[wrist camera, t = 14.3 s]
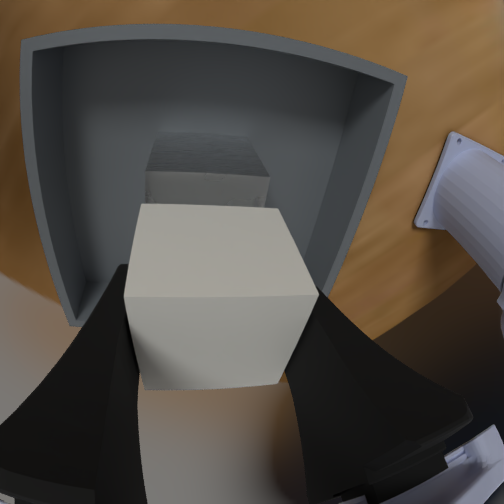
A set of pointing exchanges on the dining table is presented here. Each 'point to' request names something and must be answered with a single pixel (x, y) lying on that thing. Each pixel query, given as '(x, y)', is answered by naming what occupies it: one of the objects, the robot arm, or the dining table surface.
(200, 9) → the dining table surface
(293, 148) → the tote
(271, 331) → the white cube
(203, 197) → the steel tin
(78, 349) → the robot arm
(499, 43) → the dining table surface
